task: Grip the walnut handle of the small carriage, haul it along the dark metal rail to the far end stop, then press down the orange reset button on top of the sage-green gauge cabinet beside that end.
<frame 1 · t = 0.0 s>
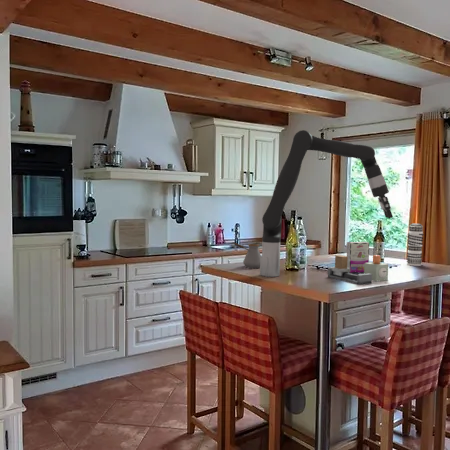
hand: (389, 217, 229), 31 cm above the kitchen island, tool tilted 20°, fingers open, 8 cm apart
gauge cabinet: (375, 279, 237), on the kitchen island
reset button: (376, 259, 236), point 10 cm above the kitchen island, slide at 0.0 cm
coffee pot: (246, 268, 264), on the kitchen island
candy bar box: (356, 272, 257), on the kitchen island
rail: (349, 280, 233), on the kitchen island
decorative candle: (414, 264, 288), on the kitchen island
carriage: (341, 265, 238), point 6 cm above the kitchen island, slide at 6.0 cm
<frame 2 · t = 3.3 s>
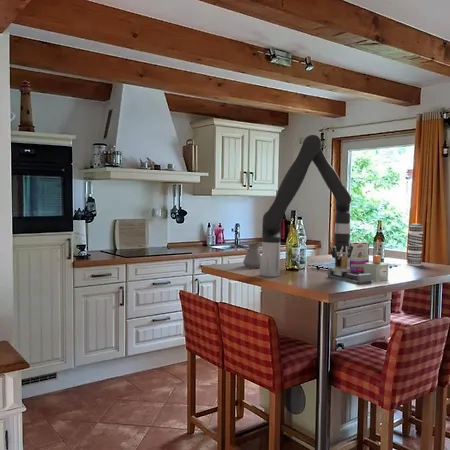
hand: (341, 266, 238), 6 cm above the kitchen island, tool pointing down, fingers closed on carriage, 3 cm apart
carriage: (341, 265, 238), point 6 cm above the kitchen island, slide at 6.0 cm, touching gripper
everything else where it was.
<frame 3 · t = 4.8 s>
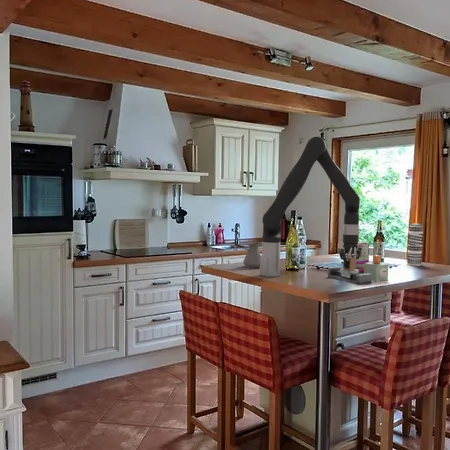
hand: (349, 268, 233), 6 cm above the kitchen island, tool pointing down, fingers closed on carriage, 3 cm apart
carriage: (349, 267, 233), point 6 cm above the kitchen island, slide at 0.1 cm, touching gripper
everything else where it was.
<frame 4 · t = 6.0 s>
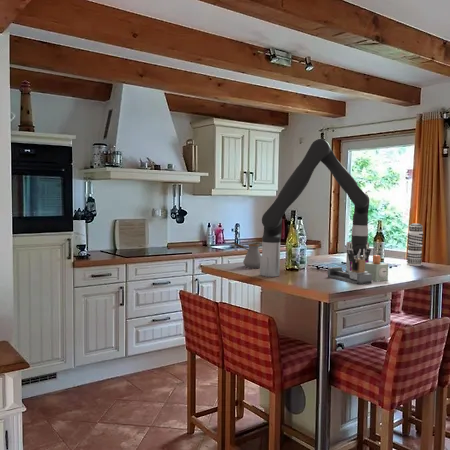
hand: (358, 269, 228), 6 cm above the kitchen island, tool pointing down, fingers closed on carriage, 3 cm apart
carriage: (358, 269, 228), point 6 cm above the kitchen island, slide at -5.9 cm, touching gripper
everything else where it was.
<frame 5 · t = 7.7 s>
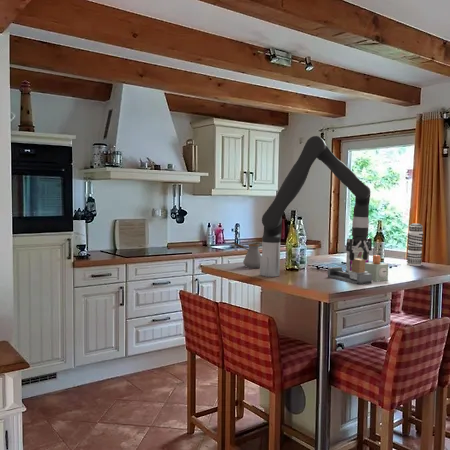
hand: (358, 259, 227), 11 cm above the kitchen island, tool pointing down, fingers open, 8 cm apart
carriage: (358, 269, 228), point 6 cm above the kitchen island, slide at -5.9 cm
everything else where it was.
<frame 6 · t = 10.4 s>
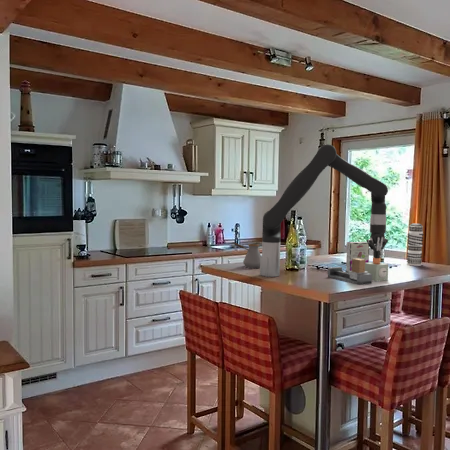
hand: (376, 258, 236), 11 cm above the kitchen island, tool pointing down, fingers closed
reset button: (376, 262, 236), point 9 cm above the kitchen island, slide at -1.3 cm, touching gripper
everything else where it was.
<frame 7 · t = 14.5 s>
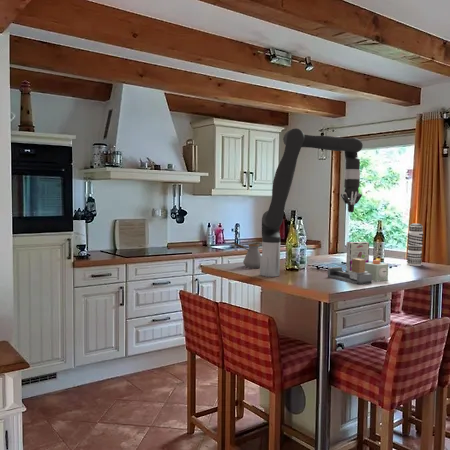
hand: (350, 212, 244), 33 cm above the kitchen island, tool pointing down, fingers closed
reset button: (376, 264, 236), point 8 cm above the kitchen island, slide at -2.5 cm
everything else where it was.
at the end: carriage slide at -5.9 cm; reset button slide at -2.5 cm; the gripper is holding nothing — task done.
